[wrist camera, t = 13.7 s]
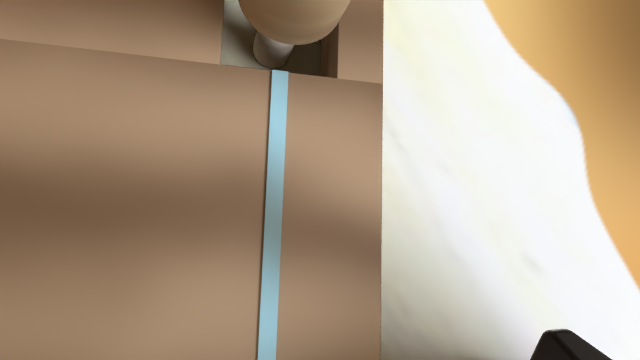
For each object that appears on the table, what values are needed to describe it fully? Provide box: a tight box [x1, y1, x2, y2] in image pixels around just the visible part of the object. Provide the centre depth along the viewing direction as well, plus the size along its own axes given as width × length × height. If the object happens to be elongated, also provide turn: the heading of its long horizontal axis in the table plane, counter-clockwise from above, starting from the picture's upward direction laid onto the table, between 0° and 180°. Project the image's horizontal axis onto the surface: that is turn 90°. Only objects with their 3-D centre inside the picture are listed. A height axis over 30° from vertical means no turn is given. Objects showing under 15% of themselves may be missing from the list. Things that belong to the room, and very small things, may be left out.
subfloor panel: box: [0, 0, 383, 360], centre depth 21 cm, size 18×20×3 cm
